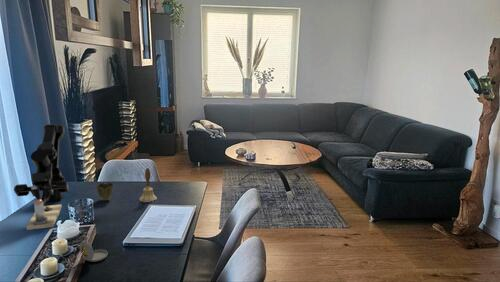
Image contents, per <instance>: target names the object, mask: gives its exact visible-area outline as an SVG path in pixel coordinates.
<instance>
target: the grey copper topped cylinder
mask: <svg viewBox="0 0 500 282" xmlns="http://www.w3.org/2000/svg"><path fill="white" fill-rule="evenodd" d="M33 205H34V206H33V207H34V213H35V217H36V219H35V221H34V225H38V224H46V222H47V220H48V218H47V217H45V211H44V206H45V204H44V202H43V200H41V199H37V198H36V199H35V200H34V203H33Z"/></svg>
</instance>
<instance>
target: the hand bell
mask: <svg viewBox="0 0 500 282" xmlns="http://www.w3.org/2000/svg"><path fill="white" fill-rule="evenodd" d="M144 179H145V182H146V183H145V187H144V188H143V190H142V195H141V196H140V197H139V198H138V199H139V201H140V202H141V203H151V201H152V202H155V201H157V198H158V197H157V196H156V195H155V194H154V190H153V187H151V186H150V185H151V184H150V183H151V182H150V179H151V171H150V168H149V167H147V168H146V169H145V172H144ZM154 200H155V201H154Z"/></svg>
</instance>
